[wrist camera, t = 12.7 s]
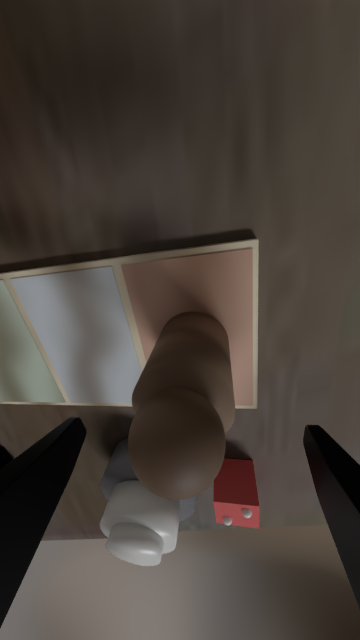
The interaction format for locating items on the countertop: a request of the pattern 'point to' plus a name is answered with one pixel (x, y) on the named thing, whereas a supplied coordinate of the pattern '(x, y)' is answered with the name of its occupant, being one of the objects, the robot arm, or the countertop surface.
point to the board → (121, 321)
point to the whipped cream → (140, 524)
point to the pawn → (183, 408)
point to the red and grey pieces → (229, 496)
